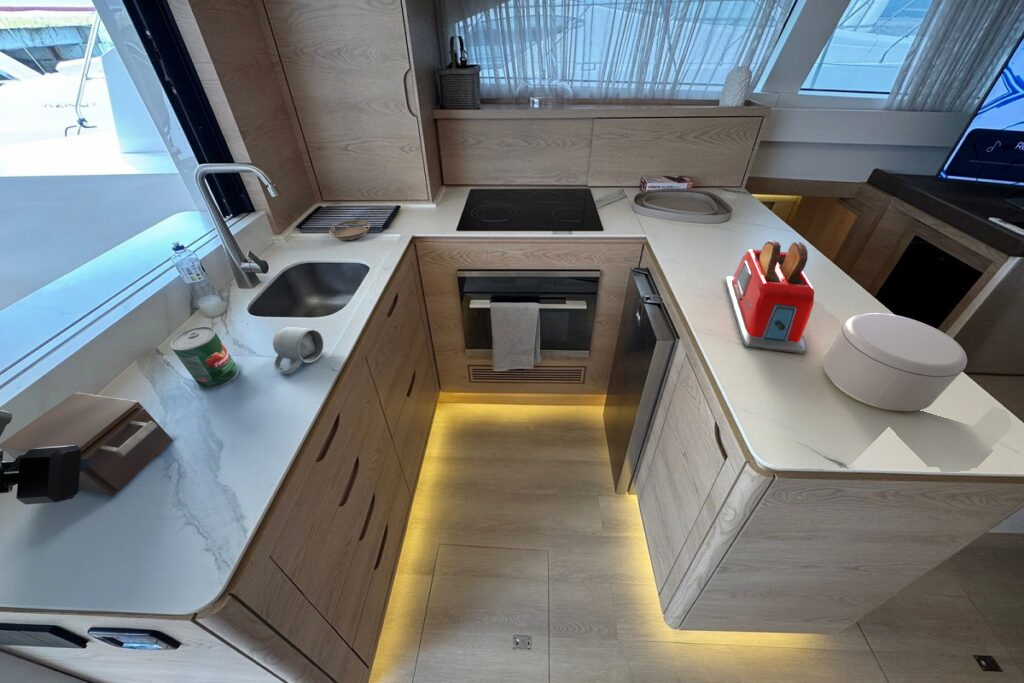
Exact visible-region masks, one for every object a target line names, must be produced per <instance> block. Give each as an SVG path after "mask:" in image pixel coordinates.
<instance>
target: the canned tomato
mask: <svg viewBox="0 0 1024 683" xmlns="http://www.w3.org/2000/svg"><path fill="white" fill-rule="evenodd" d="M169 347H170V349H171V350H172V351H173V352H174V353H175V355H176V356H177V358H178V359H179V360H180V362H181V363H182V364H183V366H184V367H185V369H186V370H187V372H188V373H189V374H190V375H191V377H192V378H193V380H194V381H195V382H196V383H197V385H198V387H199V388H201V389H202V390H214V389H218V388H221V387H223V386H226V385H228V384H229V383H231V382H233V380H235V378H237V376H238V374H239V372H240V369H239V366H237V364H236V362H235V361H234V359H233V358H232V355H231V354H230V353H229V351H228V349H227V348H226V347H225V344H224V343H223V342H222V340H221V339H220V336H219V335H218V334H217V332H216V330H215V328H213V327H211V326H197V327H193V328H190V329H187V330H185V331H183V332H181V333H179V334H178V335H176V336H175V337H173V339H172V340H171V341H170V344H169Z"/></svg>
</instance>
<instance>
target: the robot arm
mask: <svg viewBox="0 0 1024 683" xmlns="http://www.w3.org/2000/svg"><path fill="white" fill-rule="evenodd" d="M12 420H13V414H12V412H10V411H6V410H3V409H0V437H2V435H3V432H4V430H5V429H6V427H7V425H9V424H10V423H11V422H12ZM4 453H5V451H4V450H2V449H0V494H9V493H12V492H13V488H14V486H16V485H17V486H16V498H15V499H16V500H18V501H19V502H21V503H23V504H24V505H40V504H53V503H54V504H55V503H61V502H65V501H67V500H72V499H74V498H75V497H76V496H77V495H78V494H79V491H80V490H79V475H80V472H81V471H83V470H84V469H86V468H87V467H88V464H89V460H88V459H81V449H80V448H79V447H78V446H77V445H67V446H52V447H42V448H33V449H30V450H29V451H27V452H26V453H25V454H24V455H19V456H18V457H17V458H16V459H14V460H8V461H7V460H4Z"/></svg>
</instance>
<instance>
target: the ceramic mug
mask: <svg viewBox="0 0 1024 683" xmlns="http://www.w3.org/2000/svg"><path fill="white" fill-rule="evenodd" d="M324 345H325V343H324V338H323V336H322V333H320V332H319V331H318V330H317V329H315V328H306V327H296V326H286V327H282V328H281V329H279V330H278V331H276V333H275V335H274V337H273V341H272V347H273V350H274V352H275V353H276V354H277V356H276V357H275V359H274V362H273V365H274V369H275V370H276V371H277V372H279V373H280V374H282V375H290V374H293V373H294V372H296V371H297V370H298V369H299V368H300V367H301V365H302V363H305V364H311V363H315V362H316V361H317V360H318V359H320V357H321V355H322V353H323V351H324V347H325V346H324ZM283 359H288V360H293V361H294V363H292V365H290V367H288V368H285V369H283V368H282V367H281V364H282V361H283Z"/></svg>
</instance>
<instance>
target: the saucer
mask: <svg viewBox="0 0 1024 683" xmlns="http://www.w3.org/2000/svg"><path fill="white" fill-rule="evenodd" d="M344 224H365V225H367V226H368V229H367V228H366V227H363V226H349V227H345V228H342V229H339V230H338V231H336V232H335V233H334V234H333V232H334V230H335V227H337V226H339V225H344ZM370 228H371V223H370V222H369V221H366V220H359V219H358V220H356V219H355V220H348V221H343V222H340V223H337V224H335V225H333V226H331V227H330V229H329V230H328V233H329V234H330V235H331V236H332V237H333V238H335V239H338V240H341V241H352V240H356V239H359V238H362V237H363V236H365V235H366V234H367V233H368V232H369V230H370Z"/></svg>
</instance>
